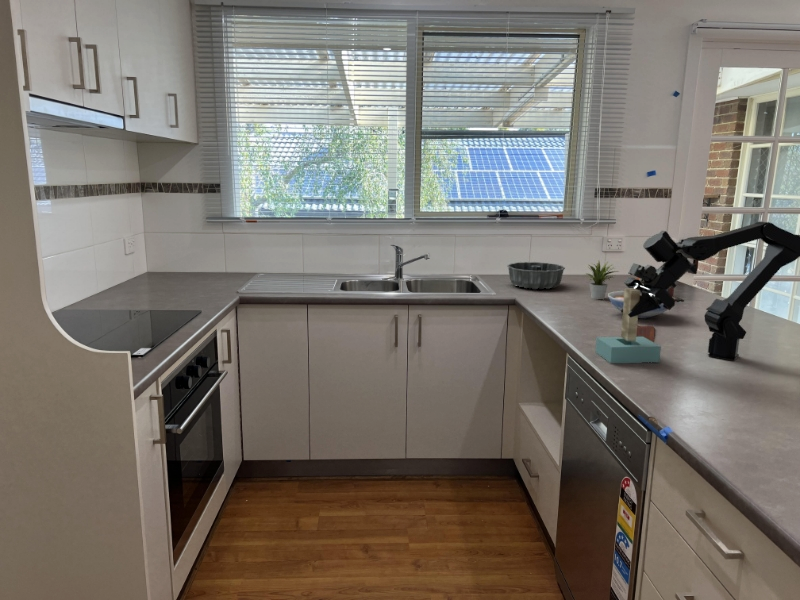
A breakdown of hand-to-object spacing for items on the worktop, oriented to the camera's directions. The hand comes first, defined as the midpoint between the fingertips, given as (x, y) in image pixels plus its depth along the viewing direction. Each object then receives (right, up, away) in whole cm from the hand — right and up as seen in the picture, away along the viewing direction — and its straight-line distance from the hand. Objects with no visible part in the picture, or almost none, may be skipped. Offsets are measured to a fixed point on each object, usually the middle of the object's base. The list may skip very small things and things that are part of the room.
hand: (625, 314), depth 154 cm
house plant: (+21, +4, +82) cm, 85 cm away
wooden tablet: (+14, -8, +26) cm, 30 cm away
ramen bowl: (+26, -2, +52) cm, 58 cm away
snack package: (+49, +6, +92) cm, 105 cm away
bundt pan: (+2, +10, +111) cm, 111 cm away
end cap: (+1, -12, +3) cm, 12 cm away
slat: (+1, -7, +1) cm, 7 cm away
